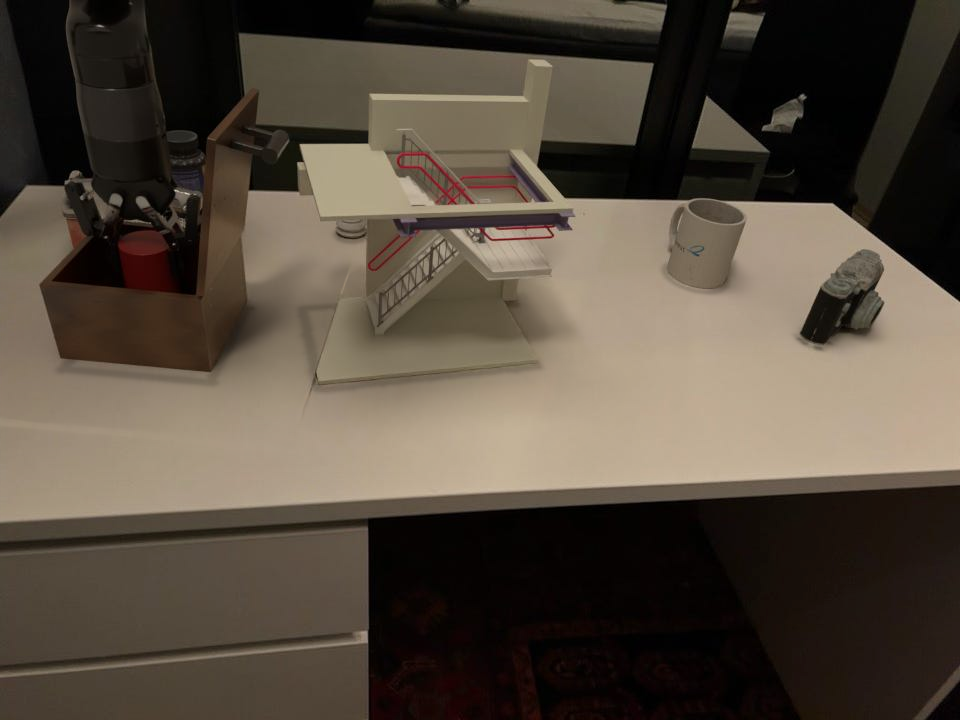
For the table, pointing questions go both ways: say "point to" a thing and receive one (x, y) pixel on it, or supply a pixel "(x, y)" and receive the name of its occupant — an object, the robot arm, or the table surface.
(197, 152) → the pill bottle
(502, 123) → the staircase
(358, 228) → the rook chess piece
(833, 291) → the camera
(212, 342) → the chest
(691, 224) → the mug
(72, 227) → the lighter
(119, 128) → the robot arm
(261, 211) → the table surface
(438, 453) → the table surface
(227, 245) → the lid
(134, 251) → the can
